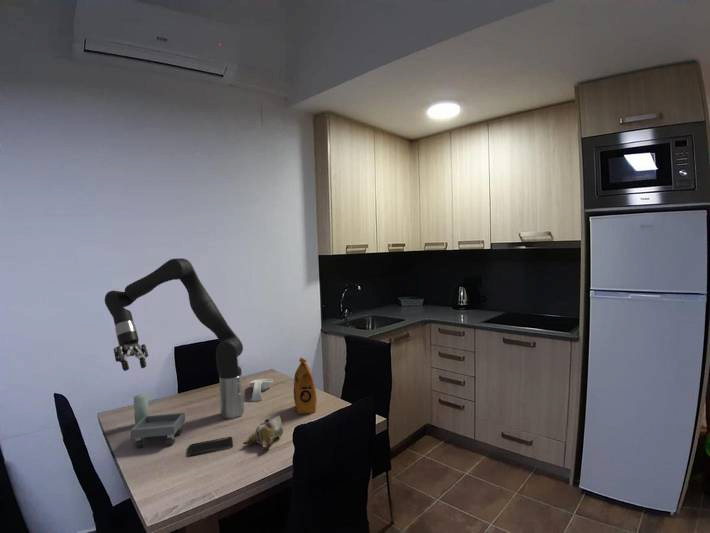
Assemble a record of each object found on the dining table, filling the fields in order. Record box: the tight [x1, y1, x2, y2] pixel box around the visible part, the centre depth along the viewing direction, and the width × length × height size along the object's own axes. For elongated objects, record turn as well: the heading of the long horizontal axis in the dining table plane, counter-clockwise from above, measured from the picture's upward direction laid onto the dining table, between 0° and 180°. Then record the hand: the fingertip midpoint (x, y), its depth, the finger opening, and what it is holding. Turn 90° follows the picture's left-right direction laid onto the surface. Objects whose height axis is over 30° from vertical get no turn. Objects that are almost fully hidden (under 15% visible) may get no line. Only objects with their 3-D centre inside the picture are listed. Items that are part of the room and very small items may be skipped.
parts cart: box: [129, 412, 186, 449], centre depth 141 cm, size 15×12×8 cm
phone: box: [187, 436, 234, 457], centre depth 135 cm, size 8×1×15 cm
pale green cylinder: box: [133, 393, 150, 426], centre depth 155 cm, size 5×5×12 cm
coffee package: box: [293, 357, 318, 415], centre depth 166 cm, size 10×12×22 cm
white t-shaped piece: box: [249, 378, 274, 402], centre depth 189 cm, size 24×12×7 cm, turn 8°
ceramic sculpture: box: [242, 415, 284, 450], centre depth 137 cm, size 11×9×15 cm
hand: (135, 368), depth 158 cm, fingers open, 8 cm apart
